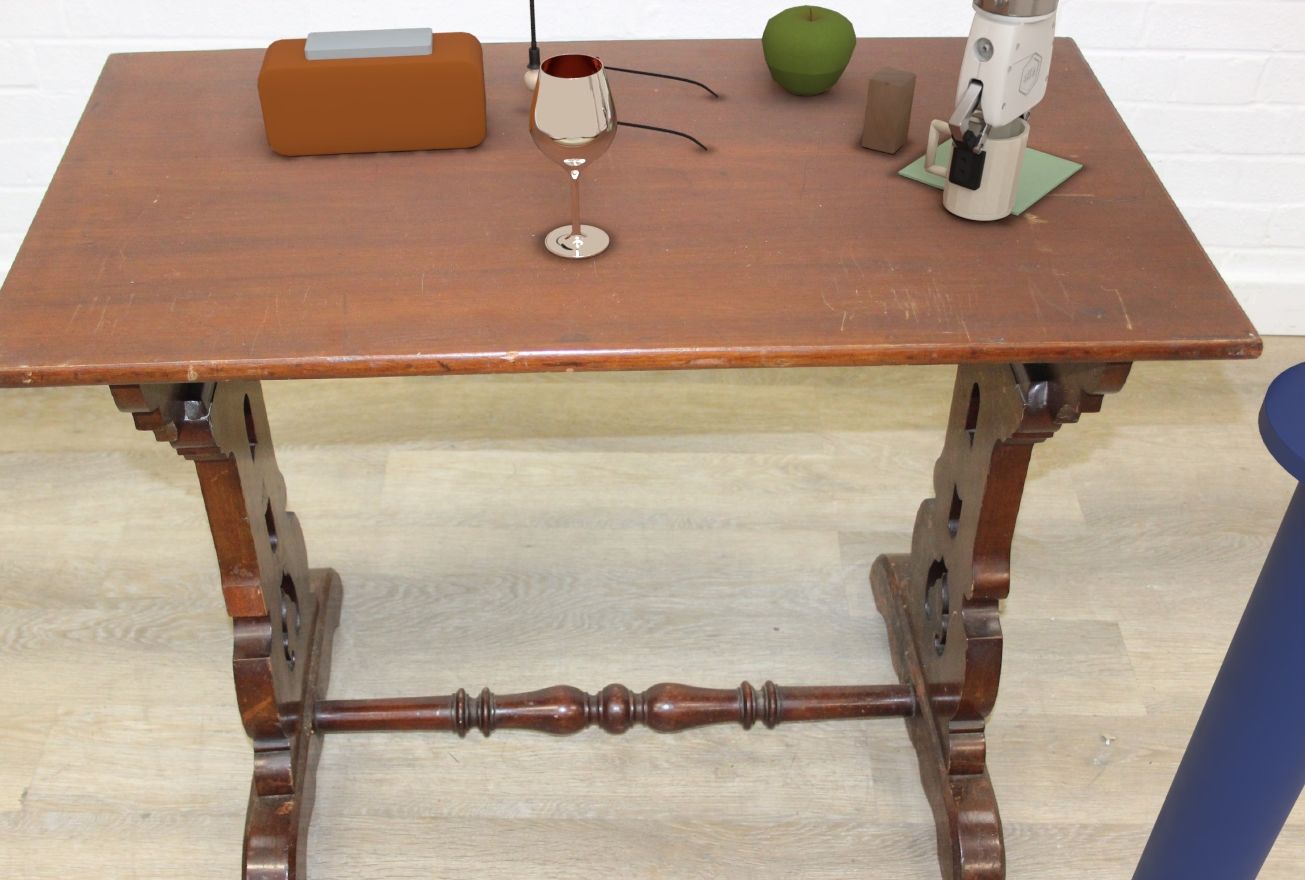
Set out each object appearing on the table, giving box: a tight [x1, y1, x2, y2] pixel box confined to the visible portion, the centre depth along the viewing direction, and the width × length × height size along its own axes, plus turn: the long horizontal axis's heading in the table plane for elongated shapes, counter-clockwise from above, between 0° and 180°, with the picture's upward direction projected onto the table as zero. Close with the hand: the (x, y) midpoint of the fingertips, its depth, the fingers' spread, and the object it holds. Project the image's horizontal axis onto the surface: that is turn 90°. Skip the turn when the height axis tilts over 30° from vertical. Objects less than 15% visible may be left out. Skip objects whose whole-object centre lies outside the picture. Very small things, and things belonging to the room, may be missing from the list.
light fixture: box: [523, 0, 542, 92], centre depth 148 cm, size 7×7×25 cm
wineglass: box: [528, 53, 618, 260], centre depth 126 cm, size 8×8×18 cm
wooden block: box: [861, 66, 917, 155], centre depth 144 cm, size 4×4×8 cm
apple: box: [761, 4, 857, 97], centre depth 155 cm, size 11×10×10 cm
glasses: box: [594, 56, 719, 151], centre depth 152 cm, size 14×15×5 cm
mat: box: [898, 137, 1084, 217], centre depth 142 cm, size 14×14×1 cm
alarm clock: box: [257, 27, 487, 157], centre depth 147 cm, size 24×8×11 cm, turn 94°
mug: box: [924, 110, 1031, 222], centre depth 133 cm, size 10×7×8 cm
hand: (984, 170), depth 132 cm, fingers closed on mug, 7 cm apart
